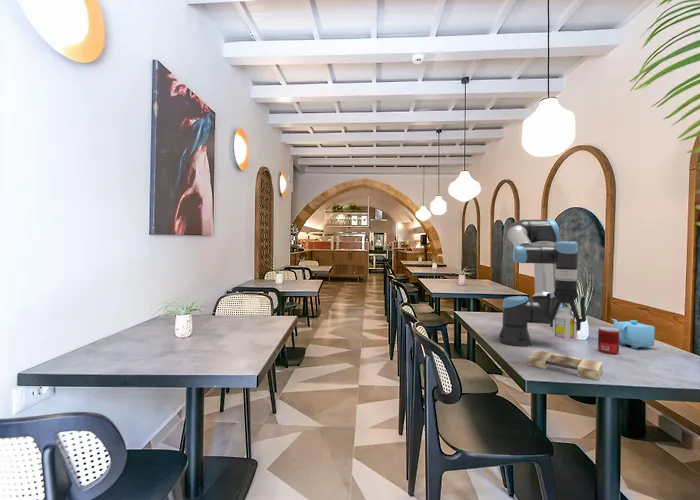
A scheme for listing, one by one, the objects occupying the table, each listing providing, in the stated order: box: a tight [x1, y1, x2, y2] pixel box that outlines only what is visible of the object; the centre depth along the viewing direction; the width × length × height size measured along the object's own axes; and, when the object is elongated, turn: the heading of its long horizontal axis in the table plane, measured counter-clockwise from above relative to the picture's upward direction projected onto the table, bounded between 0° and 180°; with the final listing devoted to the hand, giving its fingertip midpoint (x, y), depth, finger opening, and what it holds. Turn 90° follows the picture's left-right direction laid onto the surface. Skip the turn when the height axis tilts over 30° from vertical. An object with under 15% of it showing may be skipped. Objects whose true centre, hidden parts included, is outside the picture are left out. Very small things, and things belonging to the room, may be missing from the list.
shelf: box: [527, 349, 603, 381], centre depth 146 cm, size 24×13×4 cm, turn 49°
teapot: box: [611, 318, 656, 350], centre depth 183 cm, size 18×16×13 cm
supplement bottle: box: [554, 306, 576, 342], centre depth 146 cm, size 7×7×13 cm
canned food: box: [597, 326, 620, 355], centre depth 170 cm, size 8×8×11 cm
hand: (564, 336), depth 146 cm, fingers closed on supplement bottle, 7 cm apart
